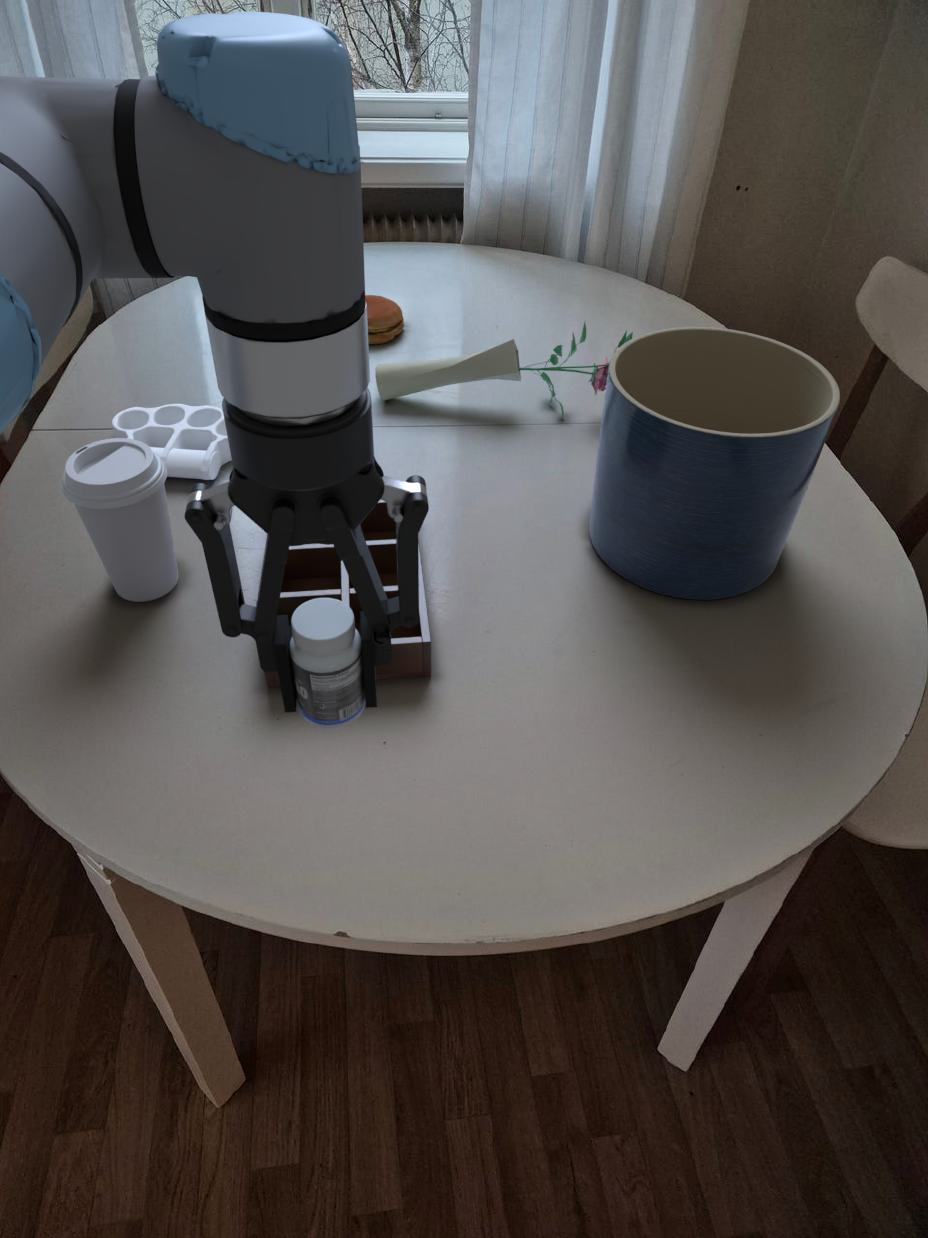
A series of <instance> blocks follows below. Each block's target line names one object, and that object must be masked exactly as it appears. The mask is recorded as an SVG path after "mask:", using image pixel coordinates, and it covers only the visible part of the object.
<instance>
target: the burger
mask: <svg viewBox="0 0 928 1238" xmlns="http://www.w3.org/2000/svg"><path fill="white" fill-rule="evenodd" d="M365 302H366V305H367V323H368V345H378V344H380V345H382V344H385V343H388V342H389V341H392V340H393V339H394V338H395V336H398V335H399V334H400V333H402V331H403V329H404V328H405V322H404V319H405V318H404V315H403V311H402V308H401V306H400V305H399V304H398V303H397V302H395V301H394V300H392V299H390V298H387V297H384V296H383V295H373V294H365Z"/></svg>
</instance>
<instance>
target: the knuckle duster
mask: <svg viewBox="0 0 928 1238" xmlns="http://www.w3.org/2000/svg"><path fill="white" fill-rule="evenodd" d="M111 427H112V430H113V433H114V436H115V438H128V439H134V440H138V441H141V442H143V443H145V444H147V445H148V446H149V447H150V448H151V449H152V451H153V452H154V453H156V454H157V455H158V456H159V457H160V458H161V460H162V461H163V463H164V464H165V466H166V468H167V478H181V479H193V480H194V479H195V480H203V481H210V480H211V481H214V480H216V478H217V477H218V475H219V472H220V470H221V468H222V466H223V465H225V464H227V463H229V462H232V458H231V453H230V447H229V442H228V436H227V431H226V425H225V420H224V414H223V409H221V407H217V406H213V405H209V404H204V405H188V404H184V403H169V404H164V405H161V406H157V407H140V406H133V407H129V408H125V409H123V410H121V411H119V412H118V413H116V414H115V415H114V417H113V418H112V420H111Z"/></svg>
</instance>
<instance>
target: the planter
mask: <svg viewBox="0 0 928 1238" xmlns="http://www.w3.org/2000/svg"><path fill="white" fill-rule="evenodd" d="M609 361H610V363H609V362H608V363H609V369H608V376H607V384H606V386H605V387H606V389H605V390H604V391H605V392H604V398H603V407H602V412H601V413H602V414H601V420H600V430H599V437H598V446H597V452H596V461H595V472H594V480H593V489H592V490H593V491H592V498H591V499H592V500H591V507H590V516H589V522H588V523H589V525H588V526H589V527H588V529H589V530H588V531H589V537H590V541H591V544H592V546H593V548H594V550H595V552H596V553H597V555H598V557H599V558H600V559H601V560H602V561H603V562H604V563H605V564H606V565H607V566H608V567H609V568H610V569H611V570H612V571H613V572H615V573H616V574H617V575H619V576H620V577H622V578H623V579H624V580H627V581H628V582H630V583H632V584H634V585H636V586H638V587H641V588H642V589H645V590H648V591H651V592H653V593H657V594H660V595H664V596H667V597H668V596H669V597H673V598H679V599H686V600H697V601H698V600H699V601H701V600H702V601H706V600H708V601H709V600H710V601H711V600H720V599H726V598H732V597H735V596H740V595H742V594H744V593H745V594H746V593H747V592H749V591H751V590H754V589H755V588H757V587H759V586H760V585H762V584H764V582H765V581H767V579H768V578H769V577H771V575H772V574H773V572H774V571H775V569H776V567H777V565H778V562H779V560H780V558H781V555H782V552H783V551H784V547H785V545H786V543H787V540H788V537H789V535H790V533H791V530H792V527H793V525H794V522H795V520H796V518H797V515H798V513H799V510H800V508H801V506H802V503H803V501H804V498H805V495H806V493H807V491H808V488H809V486H810V483H811V480H812V477H813V475H814V472H815V470H816V467H817V464H818V462H819V459H820V456H821V454H822V451H823V448H824V447H825V446H824V445H825V443H826V440H827V438H828V435H829V432H830V430H831V427H832V425H833V421H834V419H835V416H836V414H837V412H838V409H839V405H840V402H841V391H840V388H839V385H838V383H837V381H836V379H835V378H834V376H833V375H832V374H831V373H830V372H829V371H828V369H826V367H824V366H823V364H821V363H820V362H818V361H817V360H816V359H815V358H813V357H812V356H810V355H808V354H807V353H805V352H803V351H802V350H799V349H797V348H795V347H793V346H791V345H788V344H787V343H783V342H781V341H778V340H776V339H773V338H770V337H766V336H762V335H759V334H756V333H751V332H746V331H742V330H736V329H729V328H722V327H709V326H679V327H671V328H664V329H659V330H653V331H651V332H647V333H644V334H640V335H638V336H635V337H634V338H633V337H632V339H631V340H629V341H628V342H626V343H624V344H623V345H622V346H621V347H617V349H616V350H615V353H614V352H613V354H612V356H611V358H610V360H609Z"/></svg>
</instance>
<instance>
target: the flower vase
mask: <svg viewBox="0 0 928 1238" xmlns="http://www.w3.org/2000/svg"><path fill="white" fill-rule="evenodd" d="M627 332H628V330H627V329H625V331H624V333H623V335H622V338H621V339H620V340H619V342H618V344H617V347H615V348H614V351H613V354H614V353H615V352H616V350H617V349H618V348H619V347H621V346H622V345H623V344H624V343H626V342H628V341H629V340H631V339H633V335H634V331H631V332H630V333H629V334H628V333H627ZM627 334H628V335H627ZM586 338H587V325H586V321H584V323H583V327H582V330H581V336H580V339H579V342H578V343H577V344H576V337H575V334H574V332H572V340H571V344H570V351H569V353H568V356H567V358H565V360H564V361H563V362H562V363H561V364H560V365H559V366H557V365H558V364H559V357H561V358H562V357H563V344H559V345H556V346H555V347H554V348H553V349H552V351H553V352H554V353H555V354H554V353H553V354H551V355H550V357H549V359H548V360H547V361H543V362H539V363H534V364H530V365H527V366H524V367H521V366H520V365H521V364H520V355H519V348H518V346H517V344H516V341H515V339H514V338H513V339H510V340H508V341H506V342H503V343H501V344H498V345H497V346H494V347H492V348H488V349H485V350H483V351H479V352H475V353H474V352H473V353H470V354H465V355H459V356H453V357H448V358H441V359H439V358H438V359H433V360H431V359H430V360H418V361H417V360H414V361H403V362H391V363H380V364H376V366H375V375H374V376H375V383H376V388H377V392H378V395H379V397H380V400H381V401H388V400H393V399H396V398H401V397H405V396H408V395H412V394H417V393H421V392H425V391H428V390H432V389H436V388H441V387H446V386H451V385H459V384H466V383H472V382H473V383H474V382H480V381H492V380H493V381H494V380H497V381H499V380H501V381H514V382H522V375H521V371H537V372H538V373H535V372H534V375H538V376H540V378H541V379H542V381H545V382H546V384H547V386H548V388H549V391H550V394H551V396H550V399H549V402H548V404H552V402H553V399H554V400H555V401H556V402H558V404H559V406H560V410H561V415H562V421H565V419H564V417H565V412H564V406H563V404H562V402H560V401H559V400H557V398H556V397H555V396H556V392H555V385H554V384H553V383H552V380H551V378H550V377H549V375H548V374H547V373H546V372H545V371H548V372H549V371H551V372H552V371H553V372H569V373H579V374H584V375H591V377H590V378H589V380H588V381H587V382H588V383H590V385H591V387H592V388H593V391H594V396H596V395H597V394H598V392H604V391H606V384H607V376H608V369H609V363H610V360H608V357H605V359H604V360H603V361H601V362H600V363H598V364H596V363H595V362H594V363H593V364H592V365H572V366H570V365H568V366H562V365H563V364H565V363H566V362H567V361H568V360H569V358H570V357H572V356H573V355H574V354H575V353H576V352H577V350H578V349H577V348H578V347H577V345H579V344H582V343H584V342H585V341H586ZM558 356H559V357H558ZM549 362H550V363H551V364H552V365H553V366H548V367H547V364H548V363H549ZM540 364H545V365H544V367H531V366H535V365H540ZM591 368H593V371H587V370H586V371H585V370H580V369H591ZM540 371H542V372H540Z"/></svg>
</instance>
